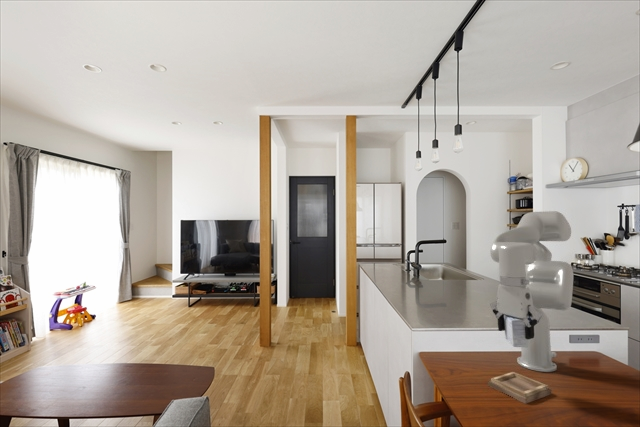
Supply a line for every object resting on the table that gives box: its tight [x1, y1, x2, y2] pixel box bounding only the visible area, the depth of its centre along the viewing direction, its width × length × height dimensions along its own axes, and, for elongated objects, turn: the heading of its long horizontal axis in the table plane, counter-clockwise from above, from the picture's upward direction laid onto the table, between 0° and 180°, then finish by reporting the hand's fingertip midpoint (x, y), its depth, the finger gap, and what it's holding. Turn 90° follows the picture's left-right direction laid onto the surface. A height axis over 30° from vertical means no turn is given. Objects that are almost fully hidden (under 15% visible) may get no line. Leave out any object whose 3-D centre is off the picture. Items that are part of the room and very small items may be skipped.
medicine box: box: [504, 315, 528, 348], centre depth 108 cm, size 8×4×9 cm, turn 168°
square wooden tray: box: [487, 371, 552, 404], centre depth 107 cm, size 13×12×2 cm
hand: (515, 334), depth 108 cm, fingers closed on medicine box, 9 cm apart
